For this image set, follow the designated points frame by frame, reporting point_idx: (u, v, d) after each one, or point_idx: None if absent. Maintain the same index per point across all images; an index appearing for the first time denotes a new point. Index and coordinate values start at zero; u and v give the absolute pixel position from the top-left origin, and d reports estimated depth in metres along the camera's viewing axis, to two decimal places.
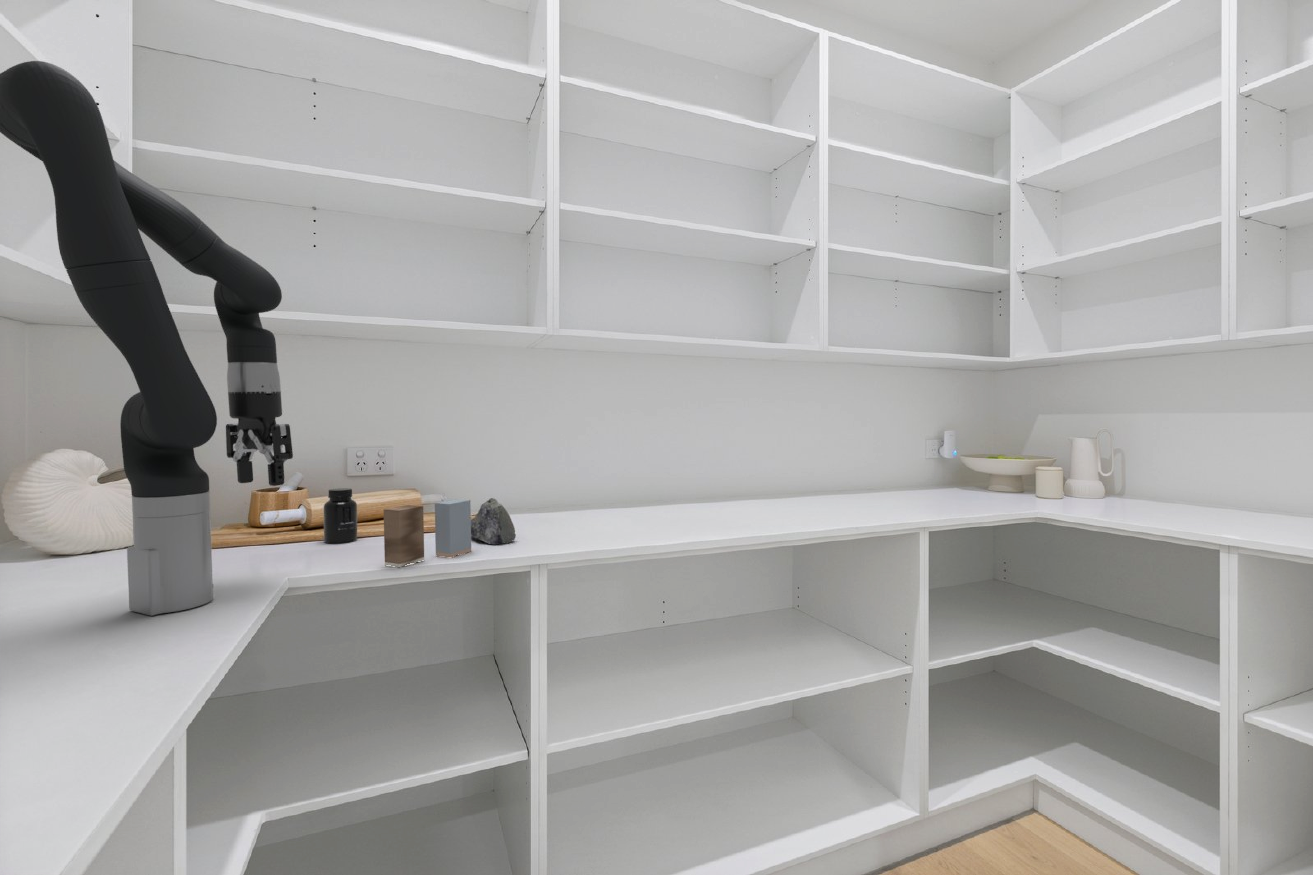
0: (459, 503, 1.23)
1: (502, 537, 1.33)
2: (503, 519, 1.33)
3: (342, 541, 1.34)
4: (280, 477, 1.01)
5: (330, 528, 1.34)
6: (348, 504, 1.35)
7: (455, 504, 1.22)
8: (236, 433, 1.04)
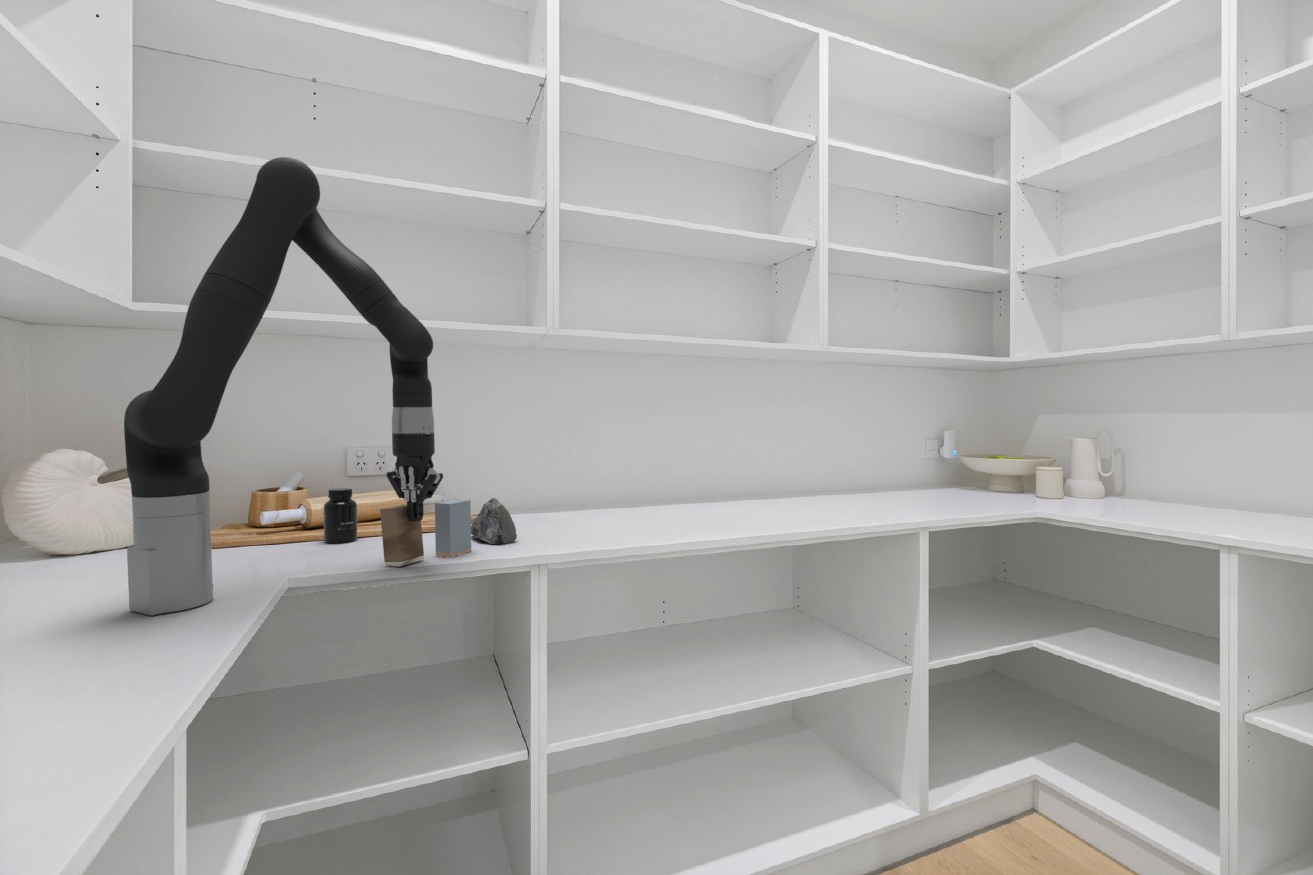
0: (459, 503, 1.23)
1: (502, 537, 1.33)
2: (504, 519, 1.33)
3: (342, 541, 1.34)
4: (420, 514, 1.14)
5: (330, 528, 1.34)
6: (348, 504, 1.35)
7: (455, 504, 1.22)
8: (397, 475, 1.16)
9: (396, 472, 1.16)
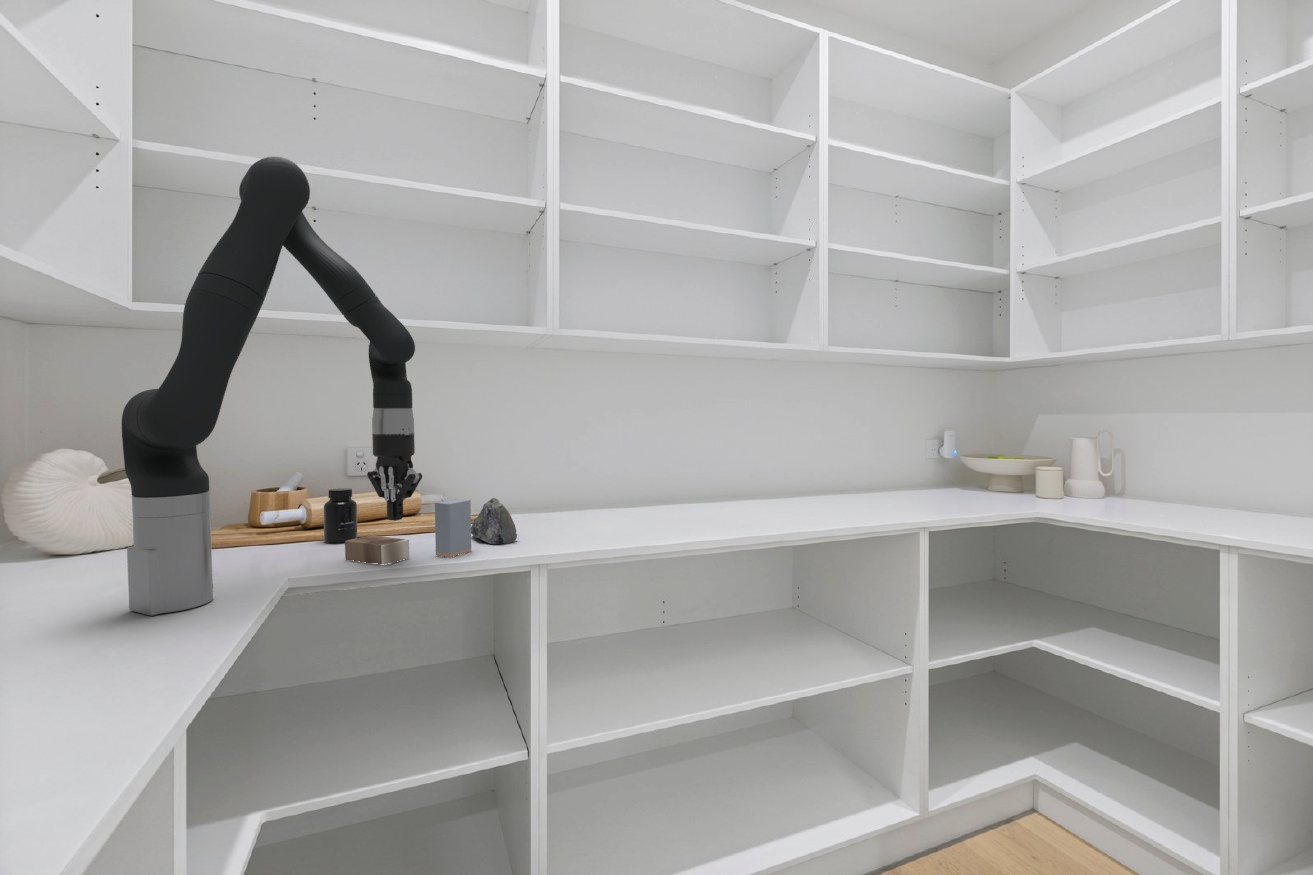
0: (459, 503, 1.23)
1: (503, 537, 1.33)
2: (504, 519, 1.33)
3: (342, 541, 1.34)
4: (399, 513, 1.17)
5: (330, 528, 1.34)
6: (348, 504, 1.35)
7: (455, 504, 1.22)
8: (377, 475, 1.18)
9: (377, 472, 1.18)
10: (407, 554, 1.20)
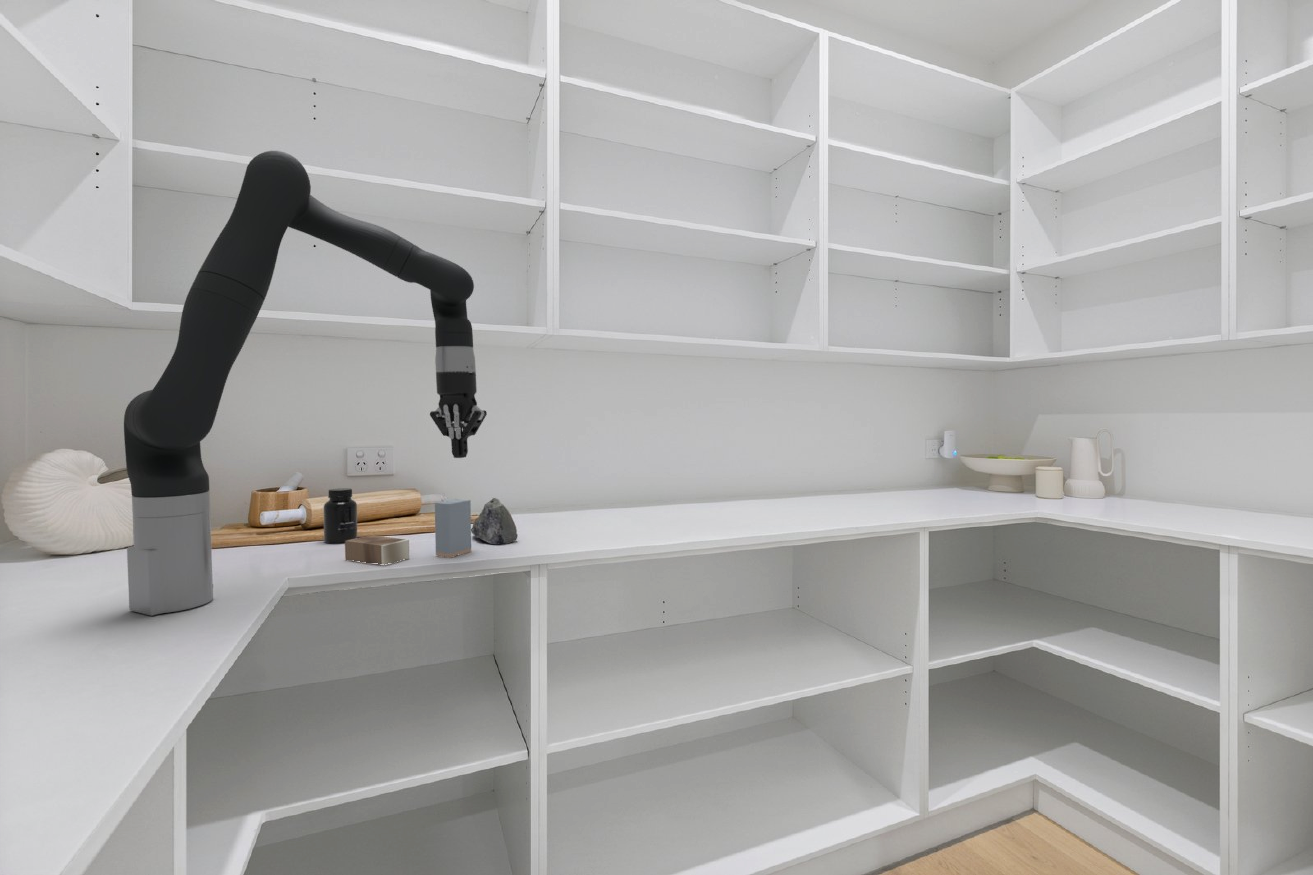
0: (459, 503, 1.23)
1: (503, 537, 1.33)
2: (504, 519, 1.33)
3: (342, 541, 1.34)
4: (464, 450, 1.19)
5: (330, 528, 1.34)
6: (348, 504, 1.35)
7: (455, 504, 1.22)
8: (440, 414, 1.20)
9: (439, 411, 1.20)
10: (407, 554, 1.20)
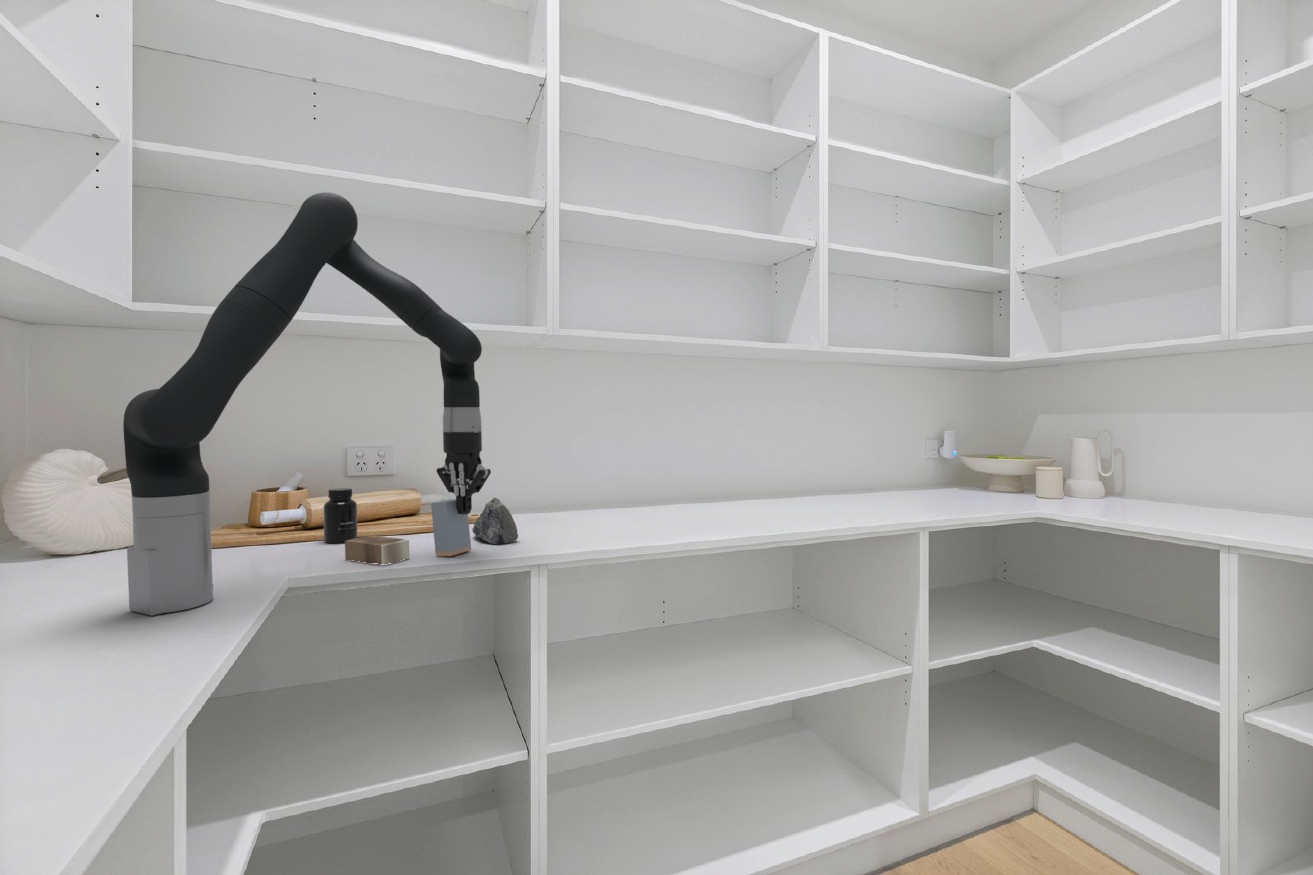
0: (455, 501, 1.23)
1: (503, 537, 1.33)
2: (505, 519, 1.33)
3: (342, 541, 1.34)
4: (468, 507, 1.22)
5: (330, 528, 1.34)
6: (348, 504, 1.35)
7: (451, 502, 1.22)
8: (446, 471, 1.23)
9: (445, 468, 1.23)
10: (407, 554, 1.20)
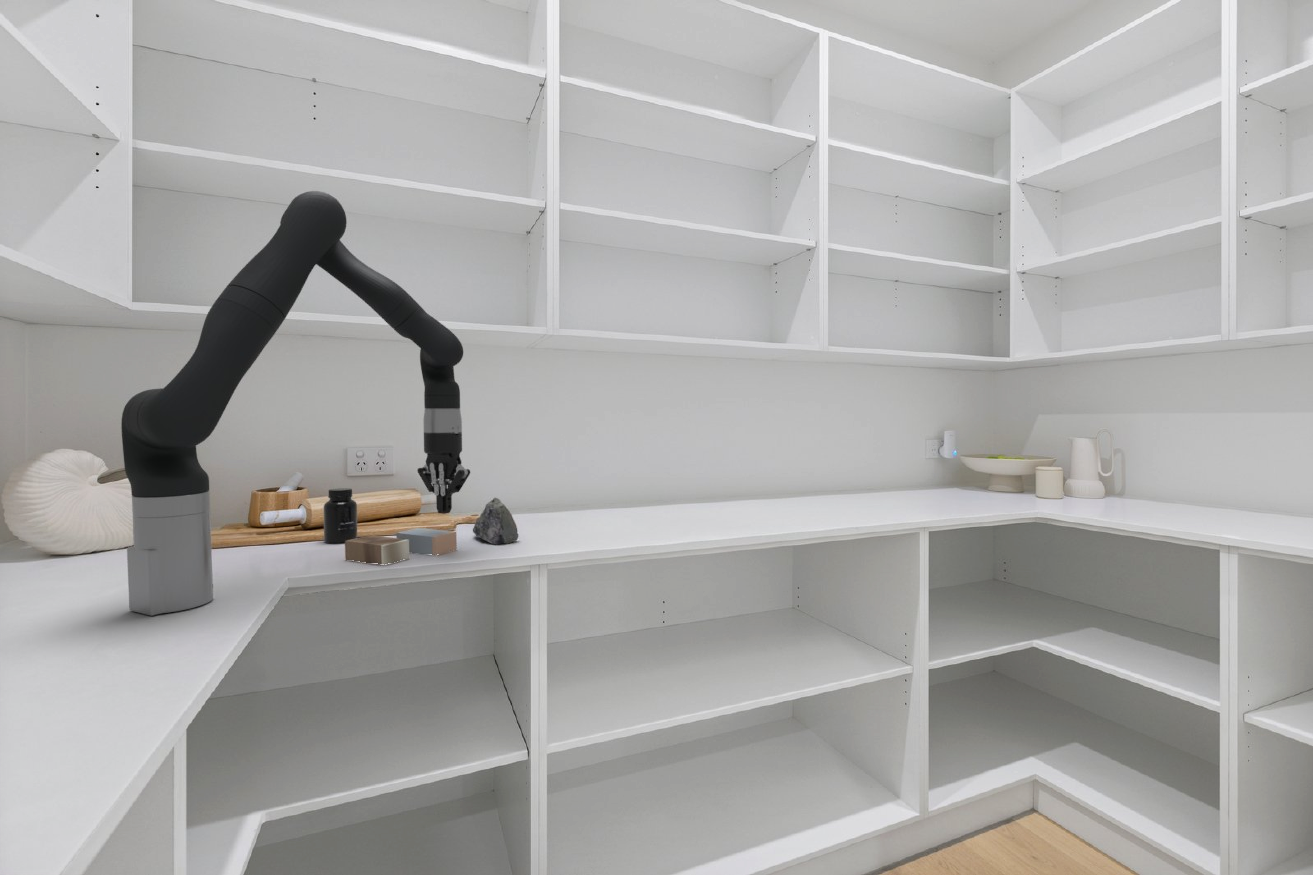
0: (407, 530, 1.29)
1: (503, 537, 1.33)
2: (505, 519, 1.33)
3: (342, 541, 1.34)
4: (448, 506, 1.24)
5: (330, 528, 1.34)
6: (348, 504, 1.35)
7: (403, 531, 1.28)
8: (427, 471, 1.26)
9: (426, 468, 1.26)
10: (407, 554, 1.20)
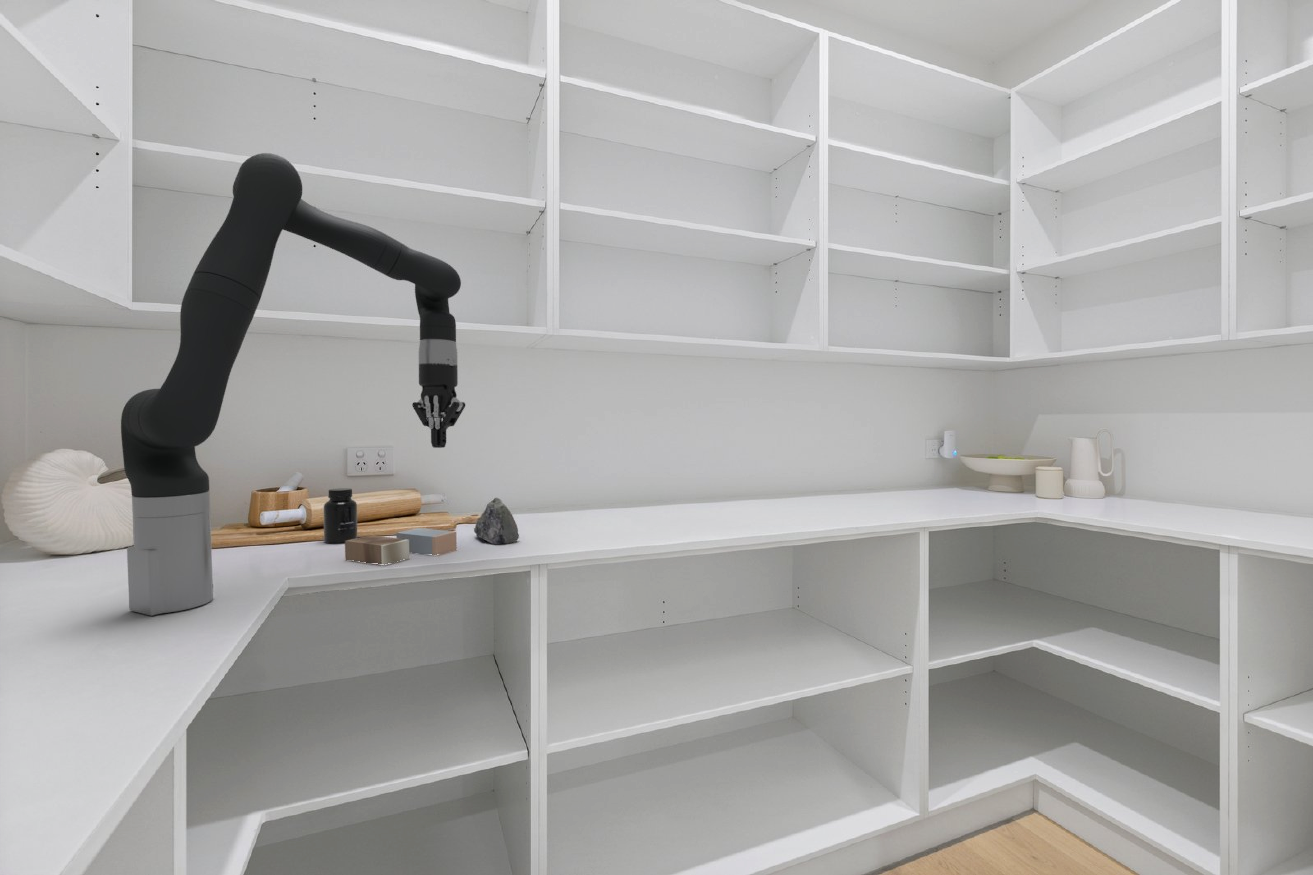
0: (407, 530, 1.29)
1: (504, 537, 1.33)
2: (506, 519, 1.33)
3: (342, 541, 1.34)
4: (443, 441, 1.23)
5: (330, 528, 1.34)
6: (348, 504, 1.35)
7: (403, 531, 1.28)
8: (422, 405, 1.24)
9: (421, 402, 1.24)
10: (407, 554, 1.20)
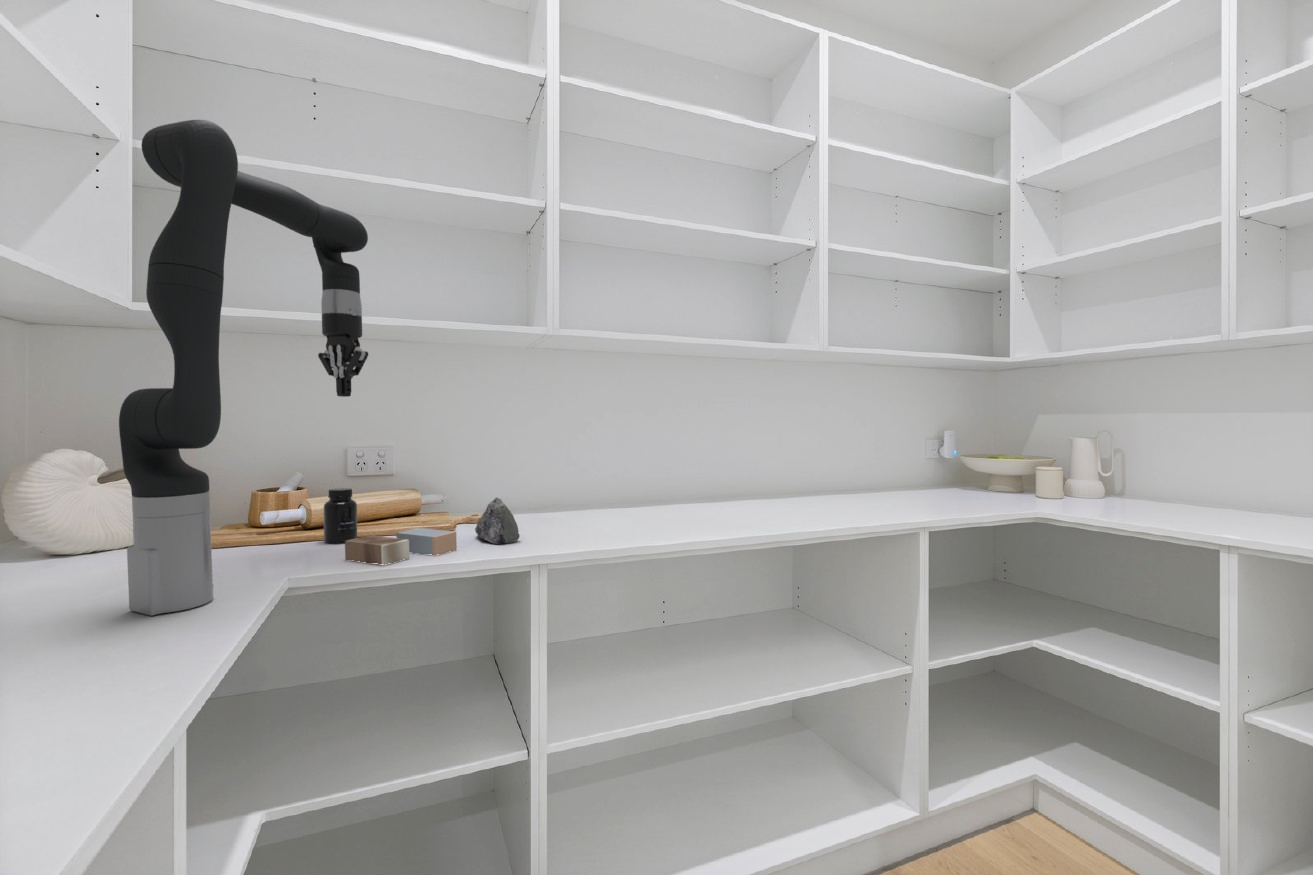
0: (407, 530, 1.29)
1: (504, 537, 1.33)
2: (506, 519, 1.33)
3: (342, 541, 1.34)
4: (348, 389, 1.26)
5: (330, 528, 1.34)
6: (348, 504, 1.35)
7: (403, 531, 1.28)
8: (328, 355, 1.27)
9: (327, 353, 1.27)
10: (407, 554, 1.20)
